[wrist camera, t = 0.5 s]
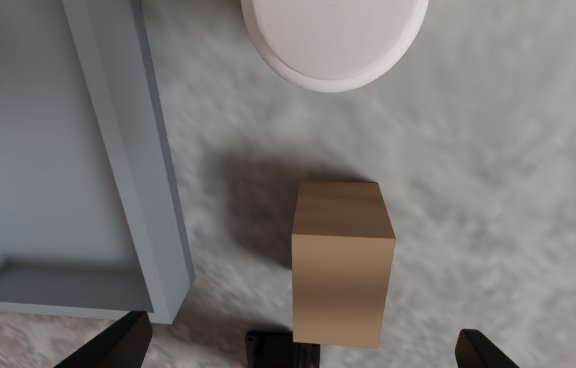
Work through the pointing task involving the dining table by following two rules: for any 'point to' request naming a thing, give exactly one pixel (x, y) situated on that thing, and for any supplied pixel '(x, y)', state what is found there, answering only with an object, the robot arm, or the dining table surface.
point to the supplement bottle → (332, 38)
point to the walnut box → (340, 263)
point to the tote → (85, 166)
